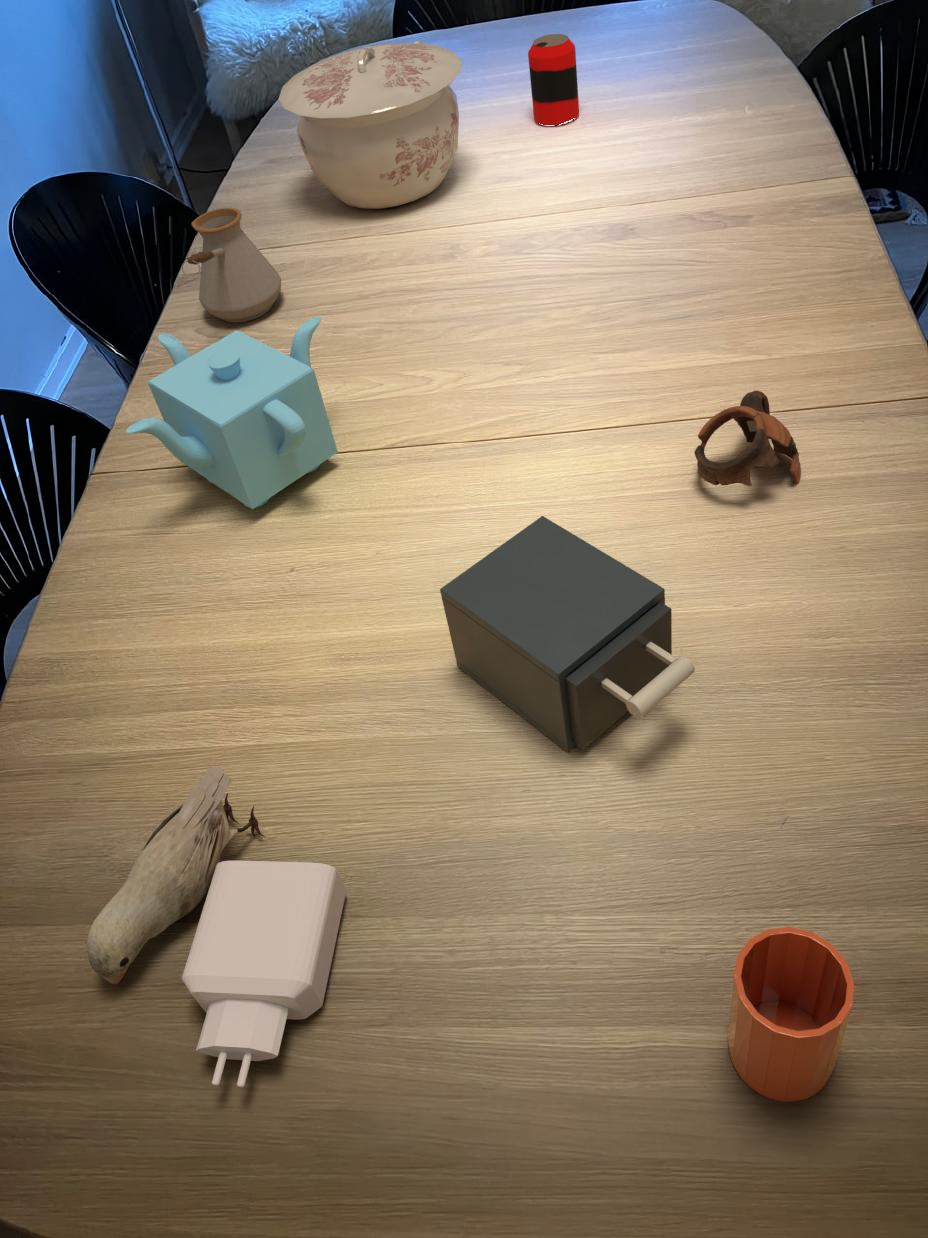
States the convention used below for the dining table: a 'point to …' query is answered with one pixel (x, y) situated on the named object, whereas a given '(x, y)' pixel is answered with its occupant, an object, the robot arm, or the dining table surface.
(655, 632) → the drawer
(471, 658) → the cabinet
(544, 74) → the soda can
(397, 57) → the chamber pot
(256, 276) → the coffee pot
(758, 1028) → the cup
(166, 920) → the decorative bird
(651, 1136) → the dining table surface
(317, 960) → the charger
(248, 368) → the teakettle
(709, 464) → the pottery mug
